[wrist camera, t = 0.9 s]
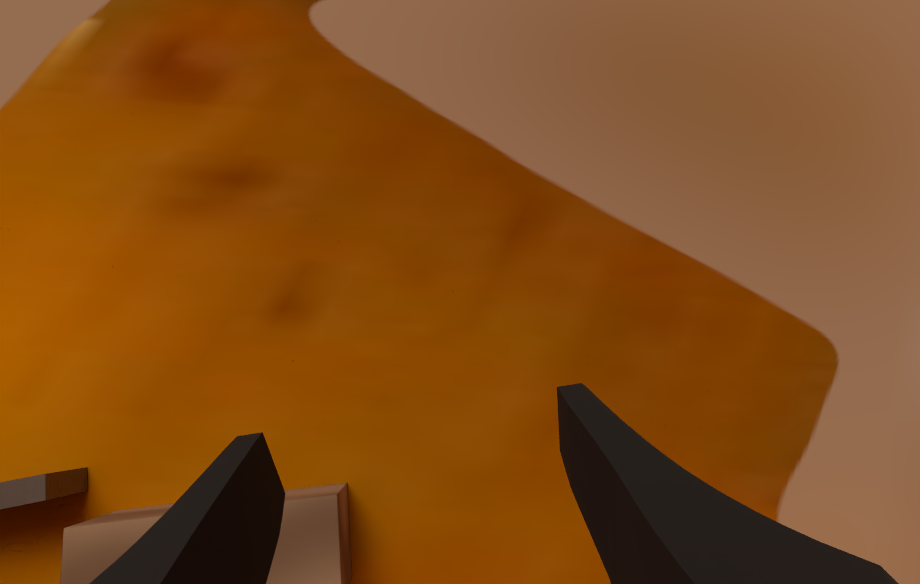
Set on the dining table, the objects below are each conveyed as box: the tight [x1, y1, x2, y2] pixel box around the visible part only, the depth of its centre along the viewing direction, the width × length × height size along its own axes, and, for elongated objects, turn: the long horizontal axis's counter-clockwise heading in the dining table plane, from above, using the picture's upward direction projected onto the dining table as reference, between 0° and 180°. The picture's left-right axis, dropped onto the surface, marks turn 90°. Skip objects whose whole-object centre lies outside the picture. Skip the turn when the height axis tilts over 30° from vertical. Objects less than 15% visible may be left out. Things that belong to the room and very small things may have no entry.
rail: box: [60, 483, 352, 584], centre depth 21 cm, size 4×10×4 cm, turn 96°
